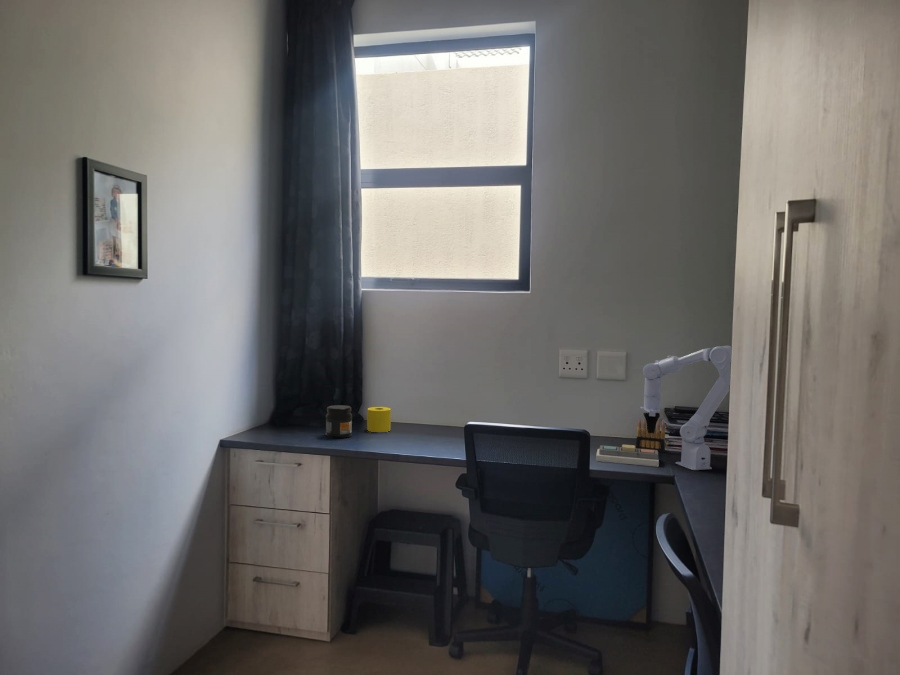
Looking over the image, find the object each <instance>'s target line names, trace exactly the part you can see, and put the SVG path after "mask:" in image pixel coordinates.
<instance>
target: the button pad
mask: <svg viewBox="0 0 900 675" xmlns="http://www.w3.org/2000/svg"><path fill="white" fill-rule="evenodd" d="M604 446H605V445H599V448H597V451H596V455H595V456H596V457H595V461H596V462H603V463H613V464H625V465H635V466H645V467H646V466H647V467H658V468H659V464H660V462H659V452H658V450H654V454H652V453H641V449H637V448H636V447H635V452H629V451H622V446H615V447H616V450H606V449H603V448H604ZM648 450H649V449H648Z"/></svg>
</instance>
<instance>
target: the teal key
mask: <svg viewBox="0 0 900 675" xmlns="http://www.w3.org/2000/svg"><path fill="white" fill-rule="evenodd" d="M603 446H604V448H603V449H606V450H616V447H617V446H612V445H603Z"/></svg>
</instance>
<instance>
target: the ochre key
mask: <svg viewBox="0 0 900 675" xmlns="http://www.w3.org/2000/svg"><path fill="white" fill-rule="evenodd" d="M621 447H622V451H629V452H635V448H636V445H634V444H633V445H632V444H622V445H621Z"/></svg>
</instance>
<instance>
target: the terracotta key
mask: <svg viewBox="0 0 900 675" xmlns="http://www.w3.org/2000/svg"><path fill="white" fill-rule="evenodd" d="M641 453H652V454H654V450H648V449H641Z"/></svg>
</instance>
